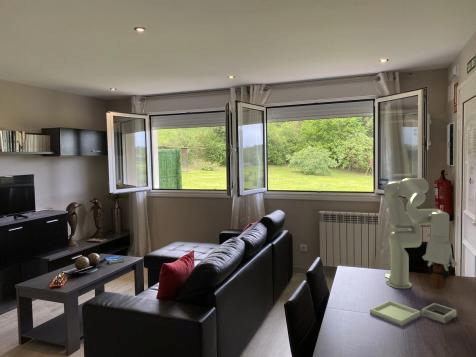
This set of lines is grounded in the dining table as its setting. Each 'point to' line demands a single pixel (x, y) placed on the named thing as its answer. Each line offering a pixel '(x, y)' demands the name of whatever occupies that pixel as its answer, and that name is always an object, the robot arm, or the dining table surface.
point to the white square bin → (441, 318)
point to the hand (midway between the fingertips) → (438, 276)
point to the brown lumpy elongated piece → (438, 277)
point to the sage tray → (395, 313)
